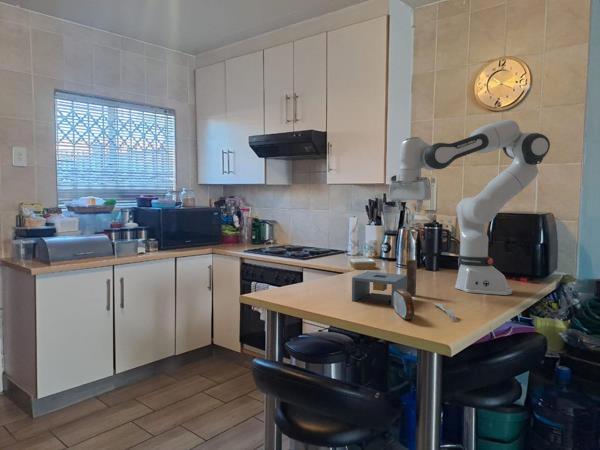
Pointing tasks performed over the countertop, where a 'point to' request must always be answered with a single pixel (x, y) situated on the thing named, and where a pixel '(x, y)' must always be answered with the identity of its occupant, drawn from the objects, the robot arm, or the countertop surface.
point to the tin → (403, 304)
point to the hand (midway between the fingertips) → (408, 211)
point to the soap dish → (362, 263)
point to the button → (379, 286)
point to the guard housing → (363, 282)
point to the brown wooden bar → (411, 277)
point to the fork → (446, 311)
